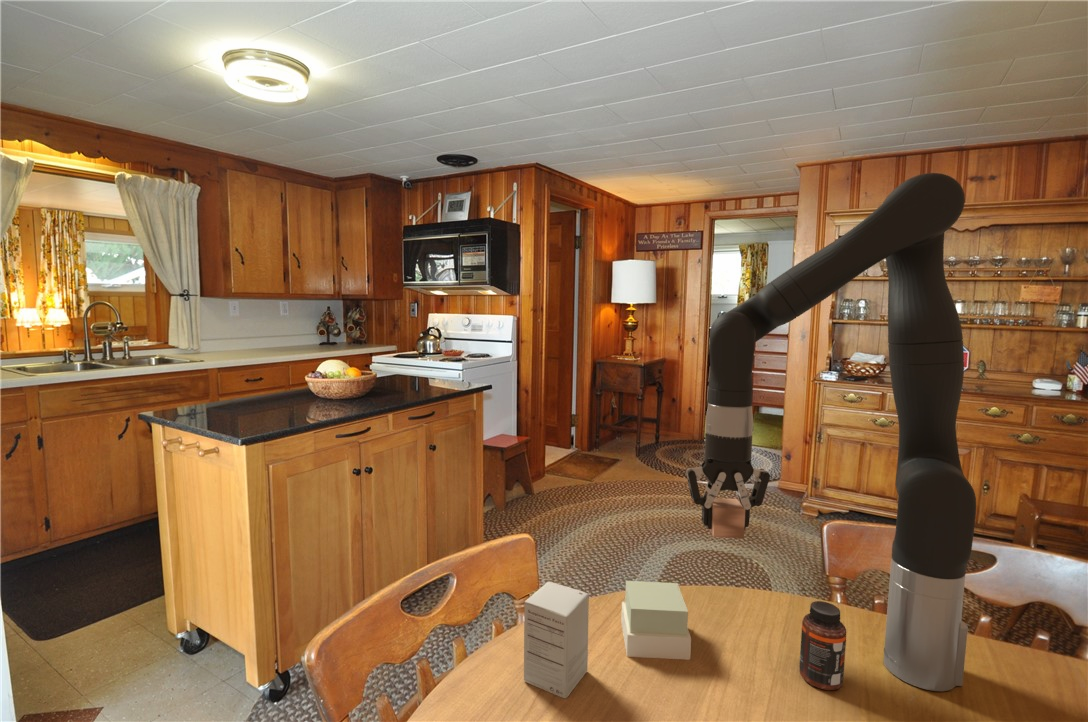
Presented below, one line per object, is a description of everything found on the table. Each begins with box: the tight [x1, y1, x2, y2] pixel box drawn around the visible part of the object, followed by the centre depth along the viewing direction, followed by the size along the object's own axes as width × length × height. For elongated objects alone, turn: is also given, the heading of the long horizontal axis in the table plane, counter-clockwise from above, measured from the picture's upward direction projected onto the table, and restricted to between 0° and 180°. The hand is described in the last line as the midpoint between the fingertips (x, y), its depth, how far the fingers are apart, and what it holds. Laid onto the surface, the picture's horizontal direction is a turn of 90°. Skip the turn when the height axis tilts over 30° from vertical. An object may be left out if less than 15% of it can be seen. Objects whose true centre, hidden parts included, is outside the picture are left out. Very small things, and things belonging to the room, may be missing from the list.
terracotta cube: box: [708, 497, 745, 539], centre depth 93 cm, size 5×5×5 cm
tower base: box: [620, 601, 692, 661], centre depth 91 cm, size 10×10×4 cm
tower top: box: [624, 580, 689, 635], centre depth 91 cm, size 9×9×4 cm
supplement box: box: [523, 581, 590, 699], centre depth 81 cm, size 7×7×13 cm
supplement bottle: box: [799, 600, 847, 691], centre depth 81 cm, size 6×6×11 cm
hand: (724, 527), depth 93 cm, fingers closed on terracotta cube, 5 cm apart
